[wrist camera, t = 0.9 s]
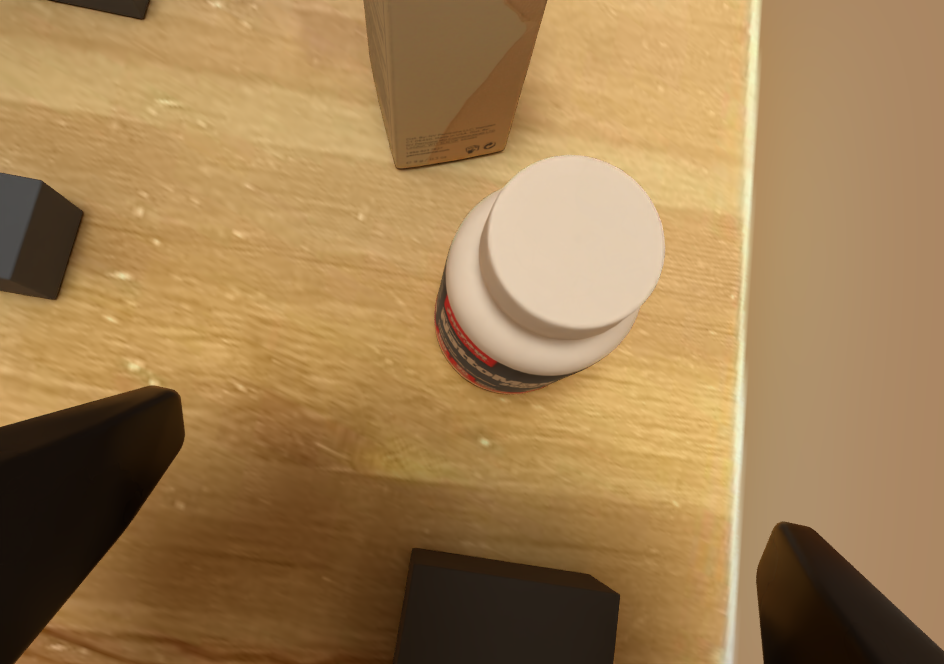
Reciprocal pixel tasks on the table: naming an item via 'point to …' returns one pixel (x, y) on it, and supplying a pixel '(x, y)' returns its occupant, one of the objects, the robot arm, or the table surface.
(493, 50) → the box
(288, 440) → the table surface
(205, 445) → the table surface
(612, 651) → the black pad
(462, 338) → the pill bottle
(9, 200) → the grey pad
